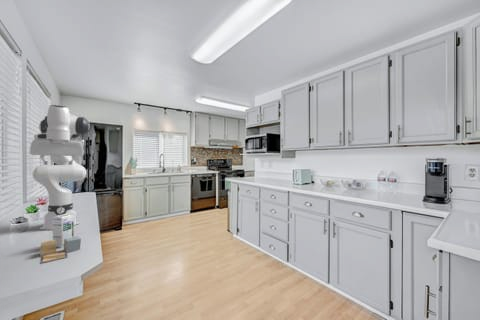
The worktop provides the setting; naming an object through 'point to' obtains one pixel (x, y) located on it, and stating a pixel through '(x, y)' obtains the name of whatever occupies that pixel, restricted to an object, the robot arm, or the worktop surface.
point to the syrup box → (63, 228)
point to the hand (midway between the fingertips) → (58, 164)
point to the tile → (53, 257)
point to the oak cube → (48, 247)
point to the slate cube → (72, 244)
